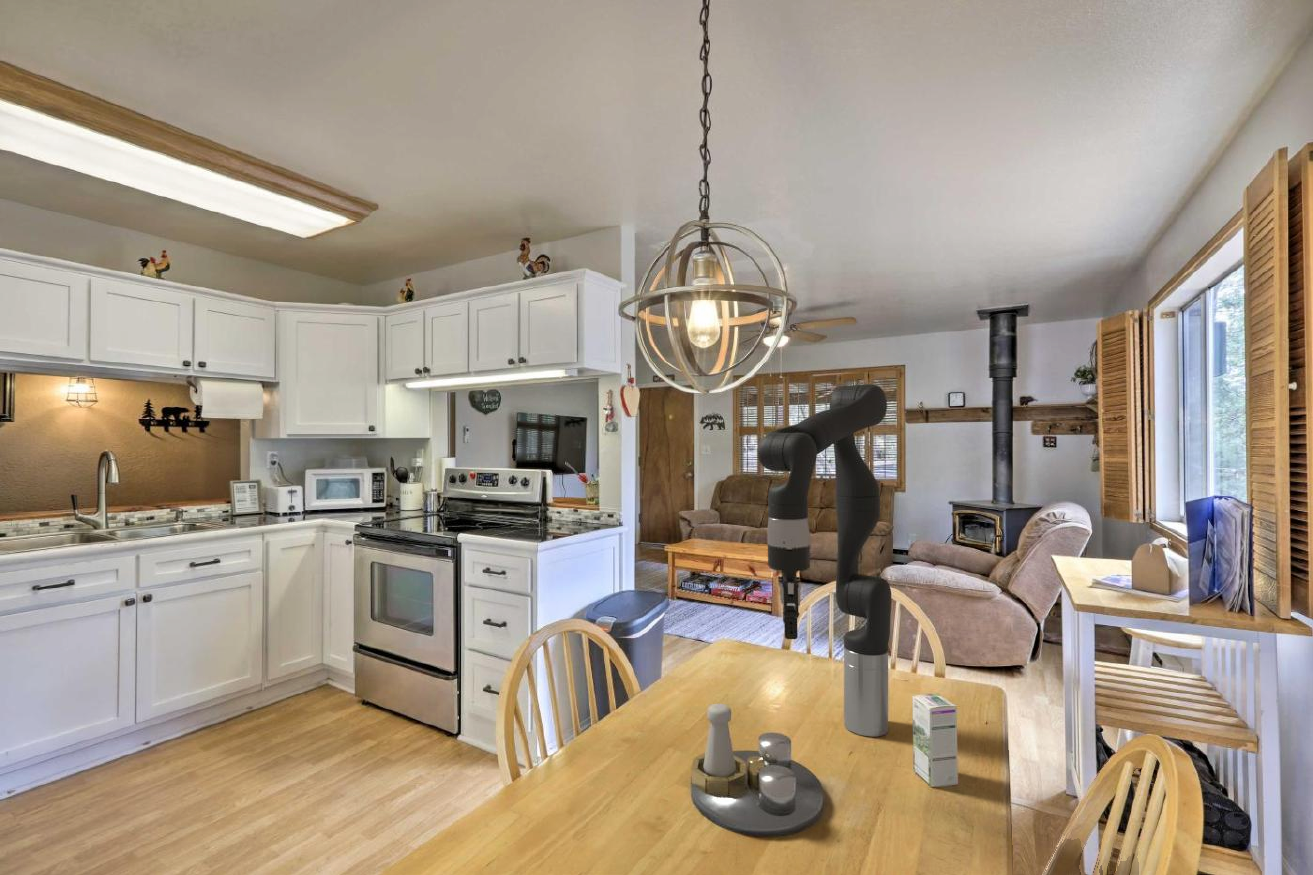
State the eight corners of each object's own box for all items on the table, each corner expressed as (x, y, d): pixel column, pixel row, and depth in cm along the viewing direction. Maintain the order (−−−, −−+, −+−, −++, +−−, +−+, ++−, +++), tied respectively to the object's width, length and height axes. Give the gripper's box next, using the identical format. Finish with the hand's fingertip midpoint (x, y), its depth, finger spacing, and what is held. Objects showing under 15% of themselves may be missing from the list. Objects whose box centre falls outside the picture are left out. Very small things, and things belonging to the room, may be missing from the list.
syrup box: (959, 785, 110) (959, 705, 110) (929, 788, 109) (929, 707, 109) (939, 768, 115) (939, 692, 116) (911, 771, 115) (911, 694, 115)
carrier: (697, 756, 120) (697, 720, 120) (815, 766, 116) (816, 729, 116) (683, 828, 97) (683, 784, 97) (831, 844, 93) (831, 798, 94)
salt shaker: (732, 770, 111) (732, 699, 111) (738, 788, 105) (739, 713, 105) (701, 771, 110) (701, 700, 111) (705, 789, 105) (705, 714, 105)
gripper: (767, 535, 118) (768, 618, 118) (767, 549, 104) (769, 643, 104) (806, 535, 116) (808, 619, 116) (812, 549, 102) (814, 645, 102)
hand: (790, 630), depth 110 cm, fingers open, 8 cm apart
